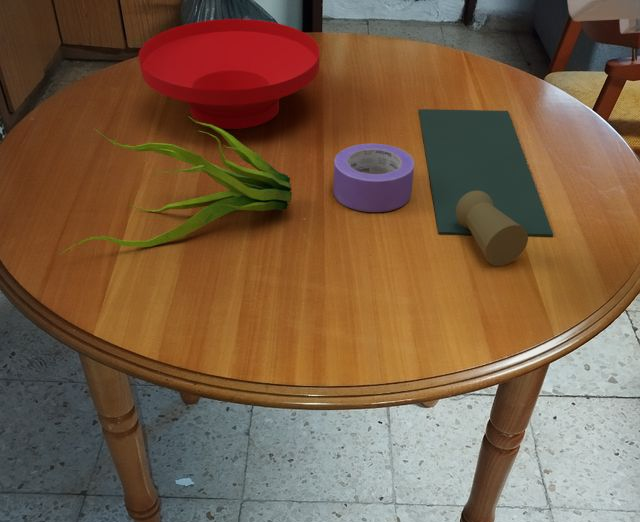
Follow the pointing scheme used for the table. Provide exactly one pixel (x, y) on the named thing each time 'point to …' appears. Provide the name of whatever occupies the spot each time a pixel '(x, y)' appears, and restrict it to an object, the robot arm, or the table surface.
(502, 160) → the mat
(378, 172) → the tape roll
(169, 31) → the bowl
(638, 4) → the robot arm
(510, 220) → the olive pawn piece
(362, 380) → the table surface
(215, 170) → the decorative plant
